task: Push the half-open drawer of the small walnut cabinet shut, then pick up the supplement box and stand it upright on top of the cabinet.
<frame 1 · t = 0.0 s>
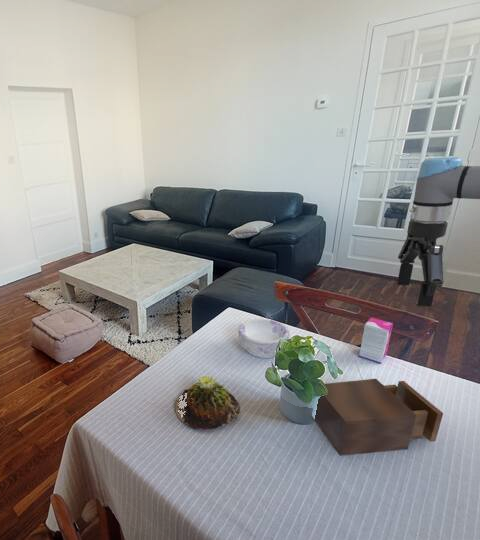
hand: (412, 294, 94), 20 cm above the table, tool pointing down, fingers open, 13 cm apart
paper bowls: (262, 350, 111), on the table
cabinet: (356, 431, 79), on the table
supplement box: (372, 356, 102), on the table
drawer: (391, 412, 77), point 5 cm above the table, slide at 5.0 cm
cactus: (206, 408, 90), on the table
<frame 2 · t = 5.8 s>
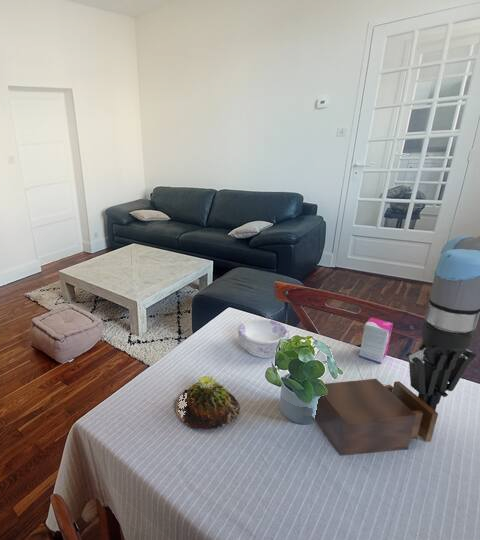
hand: (424, 414, 77), 3 cm above the table, tool pointing down, fingers closed
drawer: (387, 412, 77), point 5 cm above the table, slide at 4.0 cm, touching gripper
everything else where it was.
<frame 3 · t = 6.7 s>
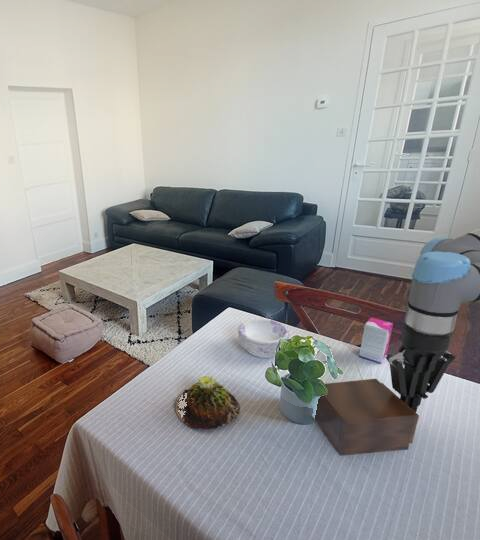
hand: (406, 416, 77), 3 cm above the table, tool pointing down, fingers closed
drawer: (369, 414, 77), point 5 cm above the table, slide at 0.0 cm, touching gripper
everything else where it was.
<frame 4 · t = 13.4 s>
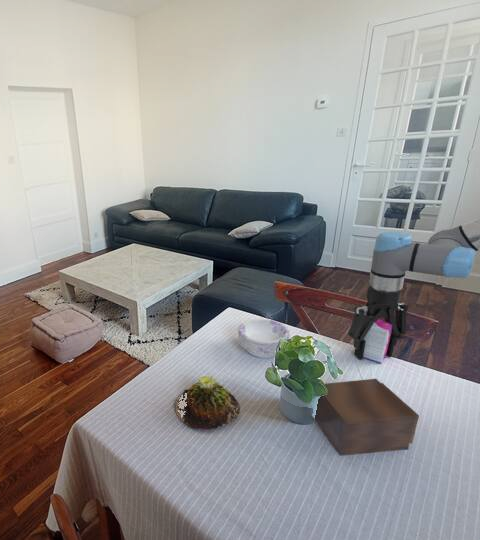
hand: (372, 355, 102), 0 cm above the table, tool pointing down, fingers closed on supplement box, 8 cm apart
supplement box: (372, 356, 102), on the table, touching gripper
drawer: (369, 414, 77), point 5 cm above the table, slide at 0.0 cm
everything else where it was.
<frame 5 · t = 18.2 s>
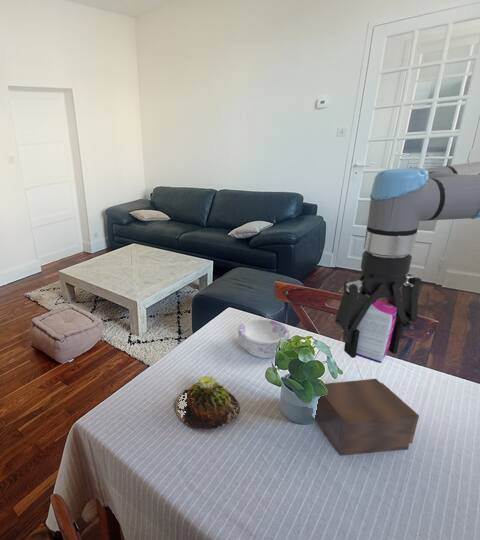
hand: (369, 351, 73), 21 cm above the table, tool pointing down, fingers closed on supplement box, 8 cm apart
supplement box: (369, 353, 73), point 20 cm above the table, touching gripper
everything else where it was.
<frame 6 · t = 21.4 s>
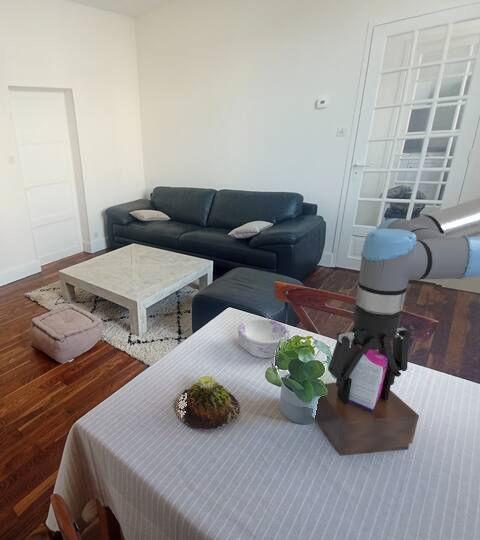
hand: (362, 397, 75), 10 cm above the table, tool pointing down, fingers closed on supplement box, 8 cm apart
supplement box: (361, 399, 75), point 9 cm above the table, touching cabinet, gripper
everything else where it was.
when the fingers open (10 cm above the table, at t = 23.1 s): supplement box stays where it is, resting on cabinet.
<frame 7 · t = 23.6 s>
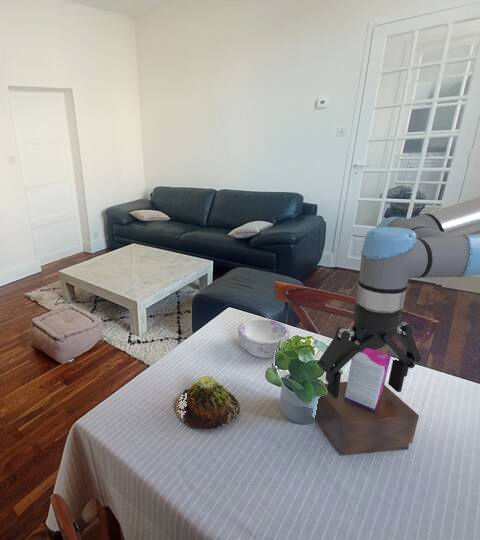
hand: (363, 391, 74), 12 cm above the table, tool pointing down, fingers open, 13 cm apart
supplement box: (363, 398, 75), point 9 cm above the table, touching cabinet
everything else where it was.
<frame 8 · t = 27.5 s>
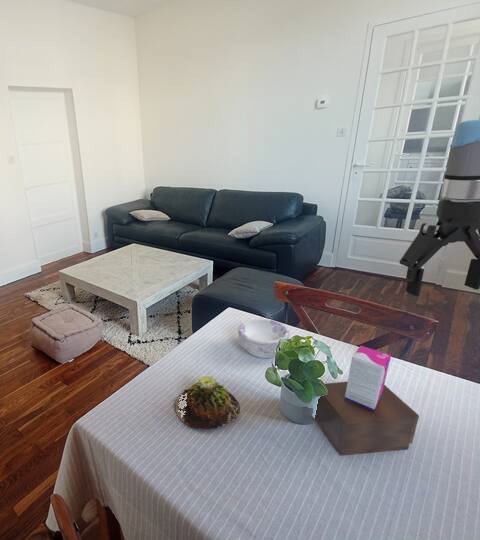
hand: (441, 290, 78), 29 cm above the table, tool pointing down, fingers open, 13 cm apart
nothing on the table moved.
at the end: drawer slide at 0.0 cm; supplement box inside the target area on the cabinet (0.4 cm from its centre), point 9.4 cm above the cabinet's base; supplement box tilted 0° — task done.
